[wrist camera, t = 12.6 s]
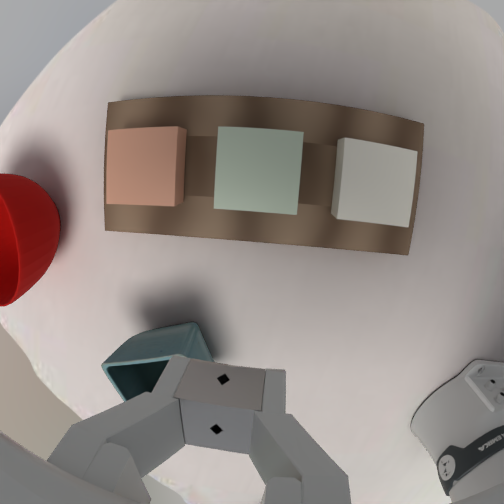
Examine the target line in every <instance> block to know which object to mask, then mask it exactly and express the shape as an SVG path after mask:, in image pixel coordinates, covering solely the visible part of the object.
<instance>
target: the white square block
mask: <svg viewBox="0 0 504 504" xmlns="http://www.w3.org/2000/svg"><path fill="white" fill-rule="evenodd" d="M416 165H417V151H413V150H409V149H404V148H400V147H395V146H390V145H385V144H380V143H375V142H369V141H364V140H358V139H352V138H342V139H339V140H338V143H337V156H336V168H335V179H334V189H333V199H332V208H331V214H332V215H333V216H334V217H335V218H336V219H342V220H351V221H360V222H369V223H377V224H385V225H393V226H401V227H409V221H410V215H411V208H412V201H413V193H414V184H415V175H416Z"/></svg>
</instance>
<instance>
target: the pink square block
mask: <svg viewBox="0 0 504 504" xmlns="http://www.w3.org/2000/svg"><path fill="white" fill-rule="evenodd" d="M186 135H187V129H184V128H181V127H178V126H170V127H145V128H129V129H116V130H108V141H107V167H106V204H126V205H153V206H176V205H178V204H181V203H183V199H184V171H185V152H186Z"/></svg>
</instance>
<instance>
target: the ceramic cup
mask: <svg viewBox="0 0 504 504" xmlns="http://www.w3.org/2000/svg"><path fill="white" fill-rule="evenodd" d="M59 234H60V217H59V213H58V210H57V207H56V205H55V203H54V202H53V201H52V199H51V198H50V196H49V195H48V194H47V192H46V191H45V190H44V189H43V188H42V187H41V186H39V185H38V184H37V183H35V182H33V181H32V180H30V179H28V178H26V177H23V176H18V175H13V174H0V306H7V305H9V304H11V303H13V302H14V301H16V300H17V299H18V298H20V297H21V296H22V295H23V294H24V293H26V292H27V291H28V290H29V289H30V288H31V287H32V286H33V285H34V284H35V283H36V282H37V281H38V280H39V279H40V278H41V277H42V276H43V275H44V274H45V272H46V271H47V269H48V267H49V266H50V264H51V262H52V260H53V258H54V256H55V253H56V250H57V247H58V242H59Z"/></svg>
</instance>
